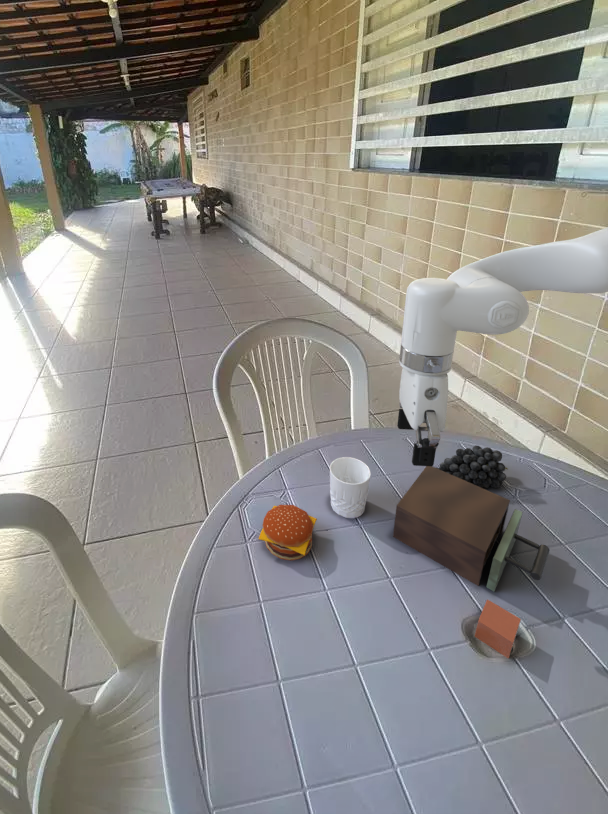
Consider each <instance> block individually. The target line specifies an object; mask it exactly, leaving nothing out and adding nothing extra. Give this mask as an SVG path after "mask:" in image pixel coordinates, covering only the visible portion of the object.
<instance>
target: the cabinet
mask: <svg viewBox="0 0 608 814" xmlns="http://www.w3.org/2000/svg"><path fill="white" fill-rule="evenodd" d="M437 468H438V467H435V466H424V468H423V470H422V471H421V473H420V474H419V475H418V476H417V478H416V479H415V480H414V482H413V483H412V484H411V486H410V487H409V488H408V490H407V491H406V493H405V494H404V495H403V496H402V498H401V499H400V500H399V501H398V503H397V504H396V507H395V515H394V524H393V532H392V537H393V538H395V539H396V540H397V541H400V542H401V543H403V544H405V545H406V546H408V547H410V548H411V549H413V550H415V551H417V552H418V553H420V554H422V555H423V556H425V557H427V558H428V559H431V560H432V561H434V562H436V563H438V564H439V565H441V566H442V567H444V568H446V569H448V570H449V571H451V572H453V573H455V574H456V575H458V576H460V577H461V578H463V579H465V580H467V581H469V582H470V583H472V584H474V585H476V586H477V587H479V585H480V583H481V579H482V575H483V571H484V568H483V566H484V562H485V558H486V553H487V551H488V549H489V547H490V544H491V542H492V540H493V538H494V536H495V534H496V531H497V529H498V527H499V525H500V523H501V521H502V524H501V528H500V532H499V535H502V534H503V532H504V527H505V524H506V519H507V515H508V511H509V507H510V503H511V500H510V499H508V498H506V497H504V496H501V495H499V494H497V493H494V492H492V491H490V490H487V489H486V488H484V487H482V488H481V487H478V486H476V485H474V484H472V483H469V482H467V481H465V480H462V479H460V478H458V477H455V476H453V475H451V474H449V473H446V472H444V471H442V470H439V469H437ZM502 519H503V520H502ZM484 567H485V566H484Z"/></svg>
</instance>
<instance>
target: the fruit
mask: <svg viewBox="0 0 608 814" xmlns="http://www.w3.org/2000/svg"><path fill="white" fill-rule="evenodd" d="M502 459H503V453H502V452H501V451H500V450H498V449H495V450H493V449H492V448H491V447H488V446H486V447H484V448H482V447H481V446H480V445H474V446H472V448H470V447H466V448H464V449H463V448H457V449H456V450H455V455H452V456H451V457H446V458H444V460H443V461H442V462H441V463H440V464H439V466H438V467H436V468H437V469H439V470H442V471H444V472H446V473H449V474H451V475H453V476H455V477H458V478H460V479H462V480H465V481H467V482H469V483H472V484H474V485H476V486H478V487H481V488H483V489H487V488H489V487H492V488H494V489H496V488H500V487H502V486H503V482H504V481H506V479H507V474H506V473H505V471H506V470H509V468H507V467H506V465H505V464H504V463H503V462H501V461H502Z"/></svg>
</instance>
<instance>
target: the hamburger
mask: <svg viewBox="0 0 608 814" xmlns="http://www.w3.org/2000/svg"><path fill="white" fill-rule="evenodd" d="M317 520H318V519H317V518H316V517H314V516H312V515H309V514H308V512H307V511H306V510H304V509H302V508H300V507H298V506H296V505H295V504H278V505H273V506H272V507H271V509H269V510H268V511H267V512H266V514H265V516H264V517H263V520H262V529H261V531H260V533H259V536H258V540H260V541H264V542H265V546H266V548H267V550H268V551H269V552H270V553H271V554H272V555H273V556H275V557H277V558H278V559H280V560H284V561H285V560H286V561H296V560H300V559H302V558H304V557H306V556H307V555H308V554H309V552H310V551H311V549H312V547H313V546H312V545H313V531H314V528H315V525H316V522H317Z"/></svg>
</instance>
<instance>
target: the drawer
mask: <svg viewBox="0 0 608 814" xmlns="http://www.w3.org/2000/svg"><path fill="white" fill-rule="evenodd" d="M523 513H524V512H523V511H522V510H519V509H516V508H515V509H514V510H513V512H512V515H511V517H510V519H509V521H508V523H507V525H506V528H505V530H504V531H503V532H504V533H503V535H502V537H501V539H500V541H499V544H498V546H497V547H496V551H495V553H494V556H493V557H492V561H491V566H490V569H489V575H488V577H487V582H486V588H487V589H488V590H490V591H492V592H494V593H495V592H496V589H497V587H498V584H499V582H500V580H501V577H502V575H503V572H504V570H505V567H506V565H507V563H508V564H510V565H511V566H514V567H516V568H518V569H519V570H522V571H523V572H526V573H528V574H529V575H530V577H531V578H532V579H533V580H535V581H540V580H541V579H542V576H543V573H544V570H545V566H546V563H547V560H548V557H549V554H550V551H551V550H550V547H549V546H548V545H546V544H543V543H541V544H538V543H536V542H534V541H532V540H530V539H528V538H526V537H523V536H521V535H519V534H518V532H519V528H520V524H521V521H522V517H523ZM502 520H503V519H502ZM501 524H502V521H501V523H500V525H499V527H498V529H497V531H496V534H495V536H494V538H493V540H492V542H491V544H490V547H489V549H488V551H487V553H486V558H485V562H484V566H483V569H484V568H485V566H486V564H487V562H488V559H489V557H490V556H491V553H492V551H493V549H494V546H495V544H496V542H497V540H498V537H499V535H500V534H499V532H500V528H501ZM517 540H518V541H519V542H521V543H523V544H525V545H527V546H530V547H532V548H534V549H536V550H537V551H536V555H535V557H534V561H533V564H532V566H531V568H530V567H528V566H527V565H525V564H523V563H520V562H518V561H516V560H515V559H513V558H511V557H510V555H511V552H512V550H513V548H514V545H515V543H516V541H517Z"/></svg>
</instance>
